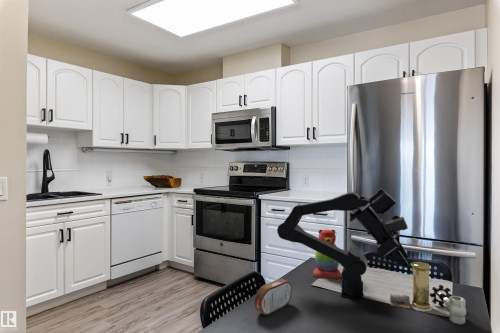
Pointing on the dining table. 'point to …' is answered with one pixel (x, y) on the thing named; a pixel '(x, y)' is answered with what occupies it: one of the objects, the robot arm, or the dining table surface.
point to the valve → (451, 304)
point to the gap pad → (420, 309)
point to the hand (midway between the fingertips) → (407, 262)
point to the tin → (273, 296)
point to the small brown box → (399, 300)
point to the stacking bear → (326, 258)
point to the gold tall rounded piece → (421, 285)
